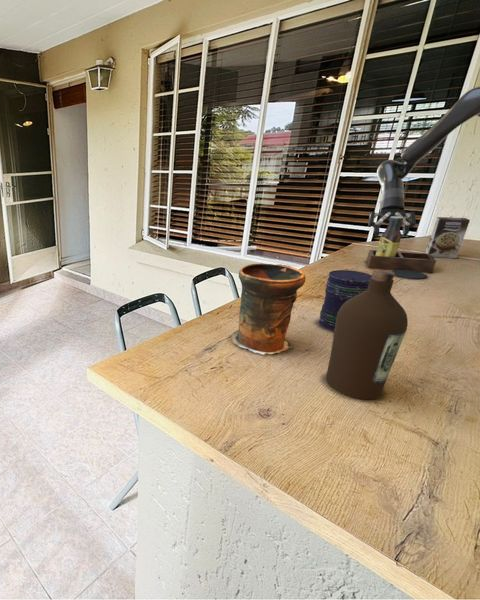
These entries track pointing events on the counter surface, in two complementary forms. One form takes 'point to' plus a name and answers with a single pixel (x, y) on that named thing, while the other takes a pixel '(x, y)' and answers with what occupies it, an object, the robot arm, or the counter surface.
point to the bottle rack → (402, 261)
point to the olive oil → (367, 339)
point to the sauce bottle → (390, 238)
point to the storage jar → (341, 294)
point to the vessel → (266, 306)
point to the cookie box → (447, 237)
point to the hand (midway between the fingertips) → (391, 234)
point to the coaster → (409, 274)
